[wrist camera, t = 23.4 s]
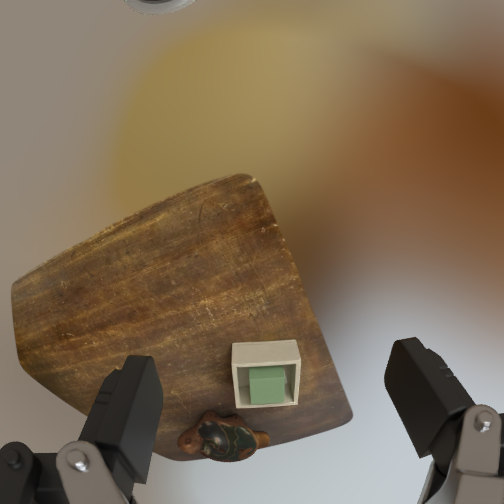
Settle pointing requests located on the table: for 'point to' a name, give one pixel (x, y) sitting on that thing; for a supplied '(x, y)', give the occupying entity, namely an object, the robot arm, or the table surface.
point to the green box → (266, 384)
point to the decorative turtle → (222, 438)
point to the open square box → (265, 356)
